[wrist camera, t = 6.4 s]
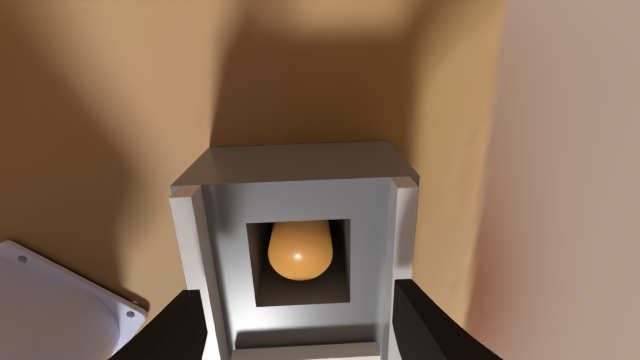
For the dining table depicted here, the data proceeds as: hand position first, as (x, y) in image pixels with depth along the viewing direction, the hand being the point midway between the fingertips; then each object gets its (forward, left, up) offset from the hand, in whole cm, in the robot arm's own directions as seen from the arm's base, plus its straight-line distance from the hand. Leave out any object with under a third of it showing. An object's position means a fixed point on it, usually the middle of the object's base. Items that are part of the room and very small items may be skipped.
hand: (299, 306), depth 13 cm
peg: (0, 0, -8) cm, 8 cm away
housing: (+3, -3, -8) cm, 9 cm away
